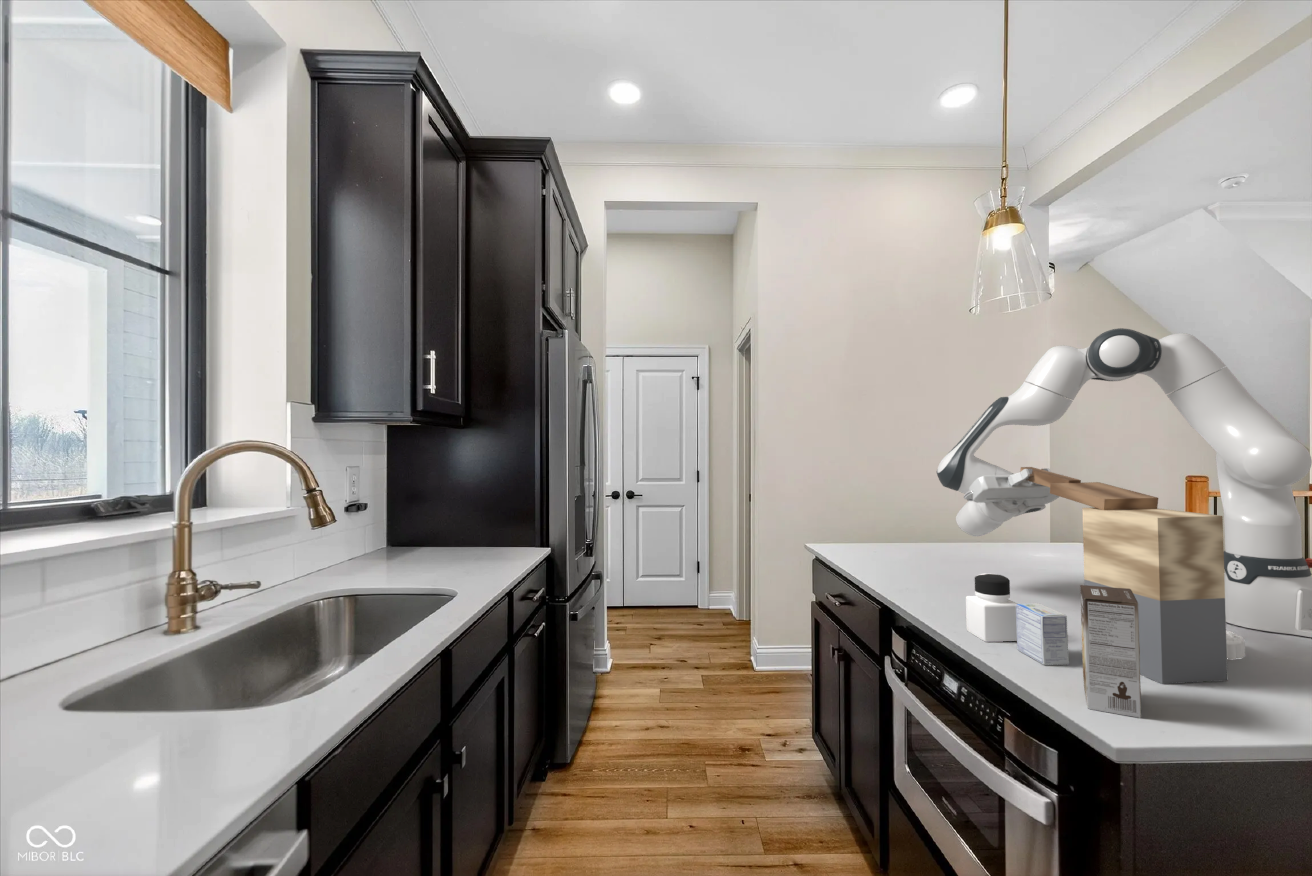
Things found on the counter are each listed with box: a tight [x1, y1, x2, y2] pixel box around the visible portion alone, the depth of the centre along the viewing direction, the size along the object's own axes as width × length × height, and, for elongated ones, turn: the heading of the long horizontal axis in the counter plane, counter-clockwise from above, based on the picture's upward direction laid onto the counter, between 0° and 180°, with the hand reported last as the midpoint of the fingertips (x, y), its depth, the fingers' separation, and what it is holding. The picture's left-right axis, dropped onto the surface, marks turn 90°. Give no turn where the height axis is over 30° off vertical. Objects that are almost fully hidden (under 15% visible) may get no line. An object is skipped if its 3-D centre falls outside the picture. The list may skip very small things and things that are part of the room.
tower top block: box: [1081, 507, 1225, 601], centre depth 101 cm, size 11×15×13 cm
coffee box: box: [1079, 584, 1142, 719], centre depth 87 cm, size 9×6×16 cm
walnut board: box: [1019, 466, 1159, 510], centre depth 118 cm, size 10×27×2 cm, turn 4°
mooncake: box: [1226, 629, 1246, 661], centre depth 109 cm, size 12×12×4 cm
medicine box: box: [1016, 602, 1070, 666], centre depth 105 cm, size 8×4×9 cm, turn 179°
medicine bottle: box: [965, 573, 1019, 643], centre depth 117 cm, size 7×7×12 cm
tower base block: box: [1083, 578, 1228, 685], centre depth 101 cm, size 11×15×13 cm
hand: (1038, 471), depth 127 cm, fingers closed on walnut board, 2 cm apart
